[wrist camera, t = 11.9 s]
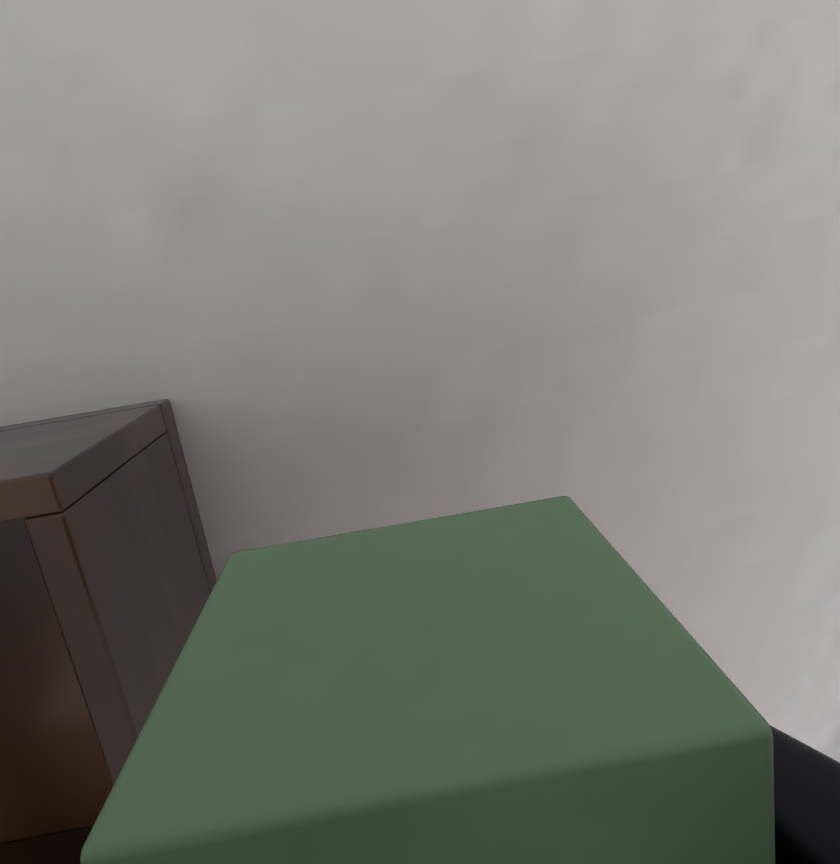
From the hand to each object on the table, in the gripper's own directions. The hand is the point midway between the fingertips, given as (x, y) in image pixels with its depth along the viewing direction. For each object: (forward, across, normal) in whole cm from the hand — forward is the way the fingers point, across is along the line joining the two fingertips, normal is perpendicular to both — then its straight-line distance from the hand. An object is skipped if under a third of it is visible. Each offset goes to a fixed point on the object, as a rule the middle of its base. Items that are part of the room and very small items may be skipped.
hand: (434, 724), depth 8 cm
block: (+1, 0, 0) cm, 1 cm away
